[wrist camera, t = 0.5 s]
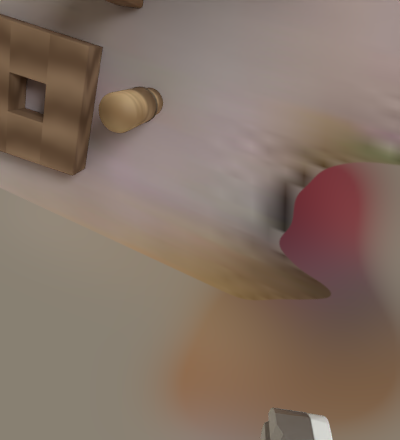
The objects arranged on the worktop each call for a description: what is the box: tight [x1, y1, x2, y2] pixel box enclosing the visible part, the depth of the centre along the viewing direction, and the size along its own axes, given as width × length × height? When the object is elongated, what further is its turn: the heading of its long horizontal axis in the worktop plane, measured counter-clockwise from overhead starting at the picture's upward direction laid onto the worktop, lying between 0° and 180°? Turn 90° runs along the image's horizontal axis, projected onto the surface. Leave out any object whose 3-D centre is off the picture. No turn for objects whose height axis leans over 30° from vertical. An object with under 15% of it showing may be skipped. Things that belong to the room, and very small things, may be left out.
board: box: [0, 14, 103, 176], centre depth 51 cm, size 18×16×4 cm
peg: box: [99, 87, 163, 133], centre depth 45 cm, size 4×4×12 cm
